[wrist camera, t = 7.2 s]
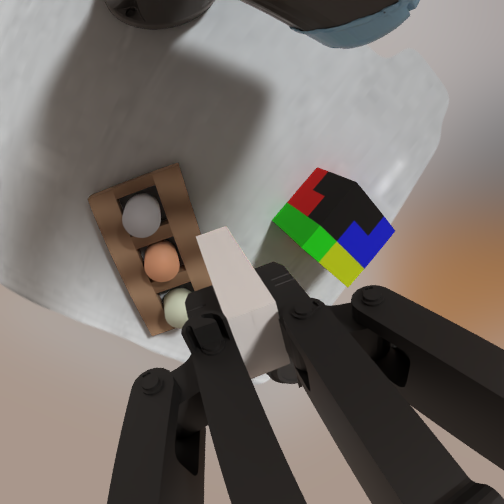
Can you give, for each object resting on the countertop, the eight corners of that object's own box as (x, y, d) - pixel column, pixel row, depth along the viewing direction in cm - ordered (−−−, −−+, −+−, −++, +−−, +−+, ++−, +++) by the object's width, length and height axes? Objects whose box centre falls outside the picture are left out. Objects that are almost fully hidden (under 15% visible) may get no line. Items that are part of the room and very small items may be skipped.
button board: (90, 195, 36) (87, 199, 34) (177, 162, 38) (178, 164, 36) (151, 328, 46) (152, 336, 44) (224, 302, 48) (227, 310, 46)
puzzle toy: (355, 208, 48) (395, 230, 39) (315, 256, 49) (347, 287, 41) (316, 167, 43) (356, 182, 34) (271, 220, 45) (301, 247, 36)
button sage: (158, 293, 42) (159, 307, 39) (188, 283, 43) (191, 296, 40) (170, 318, 44) (172, 332, 41) (199, 308, 45) (202, 322, 42)
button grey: (119, 200, 36) (116, 208, 33) (153, 187, 36) (153, 194, 33) (132, 233, 38) (130, 243, 35) (165, 221, 38) (166, 230, 35)
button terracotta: (139, 246, 40) (138, 256, 37) (171, 234, 41) (172, 244, 38) (151, 274, 42) (152, 286, 39) (182, 263, 43) (184, 275, 40)
